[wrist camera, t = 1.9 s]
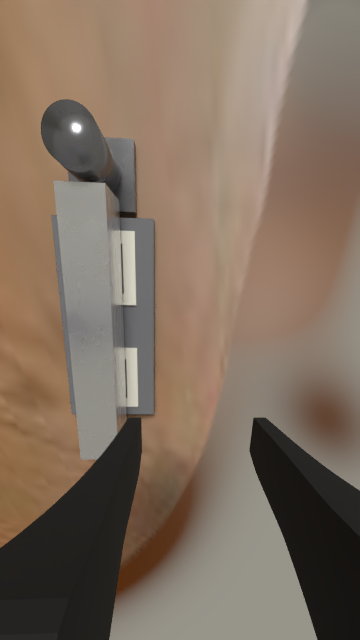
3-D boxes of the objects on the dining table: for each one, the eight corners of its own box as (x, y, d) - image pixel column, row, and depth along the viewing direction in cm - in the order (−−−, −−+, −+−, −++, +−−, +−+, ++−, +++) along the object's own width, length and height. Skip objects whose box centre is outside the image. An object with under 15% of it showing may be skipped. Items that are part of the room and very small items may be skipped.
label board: (154, 407, 22) (153, 416, 21) (76, 407, 22) (70, 416, 21) (154, 221, 18) (153, 217, 17) (58, 218, 18) (49, 214, 16)
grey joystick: (136, 214, 18) (119, 188, 12) (75, 212, 18) (28, 184, 12) (135, 145, 17) (115, 78, 11) (70, 141, 16) (14, 72, 11)
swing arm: (127, 428, 21) (118, 459, 17) (95, 428, 20) (80, 459, 17) (119, 200, 16) (105, 182, 13) (78, 199, 16) (53, 180, 13)
